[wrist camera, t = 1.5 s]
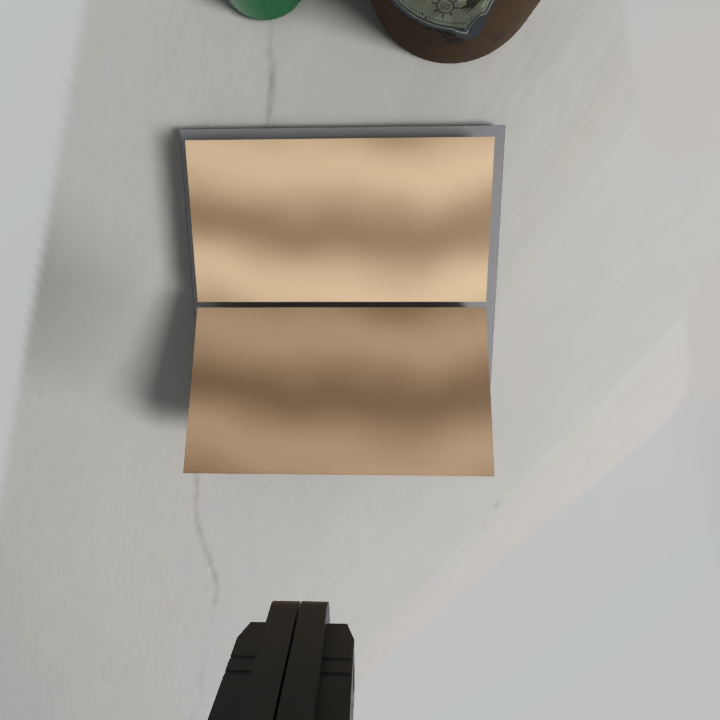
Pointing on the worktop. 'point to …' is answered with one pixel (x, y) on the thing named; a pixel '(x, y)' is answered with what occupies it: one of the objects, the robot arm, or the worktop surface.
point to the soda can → (264, 8)
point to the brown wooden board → (340, 392)
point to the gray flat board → (365, 132)
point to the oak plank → (341, 219)
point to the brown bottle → (453, 26)
